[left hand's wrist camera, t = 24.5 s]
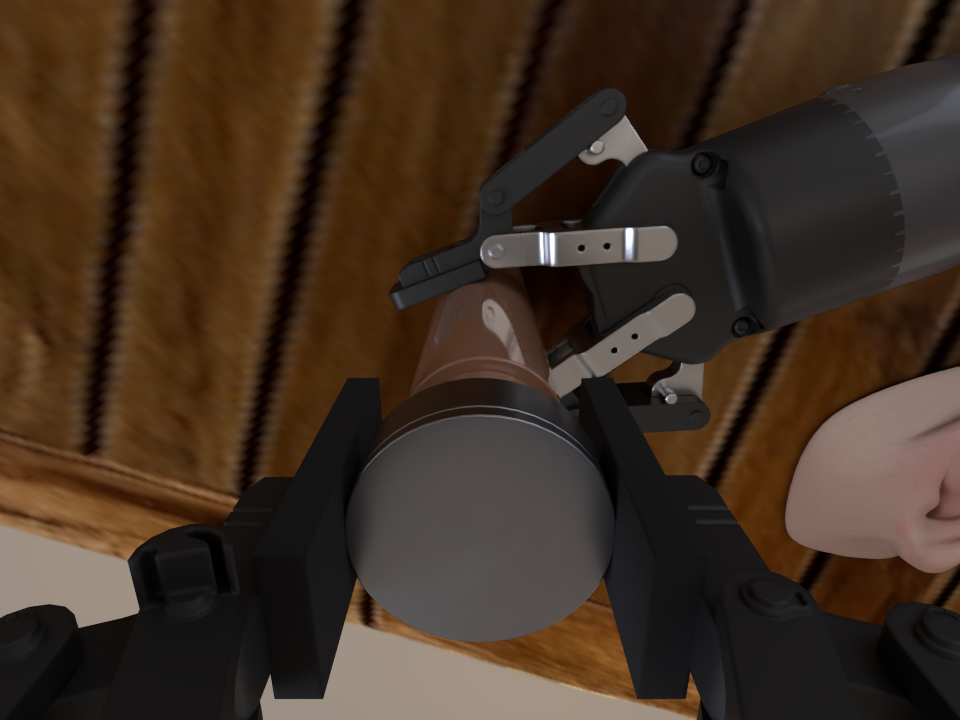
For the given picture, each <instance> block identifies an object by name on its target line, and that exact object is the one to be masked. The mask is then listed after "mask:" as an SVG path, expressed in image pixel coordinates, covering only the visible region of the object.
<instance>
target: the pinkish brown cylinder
mask: <svg viewBox="0 0 960 720" xmlns="http://www.w3.org/2000/svg"><path fill="white" fill-rule="evenodd" d="M465 378H496V379H502V380H508V381H513V382H516V383H520V384H523V385H526V386H529V387H531V388H534V389H536V390H538V391H540V392H542V393H544V394H546V395H548V396H549V397H551V398H552V399H554V400H556V401H557V402H558V403H560V404H561V405H562V403H561V400H560V397H559V393H558V390H557V387H556V383H555V380H554V377H553V374H552V370H551V367H550V364H549V360H548V357H547V354H546V350H545V347H544V344H543V341H542V337H541V334H540V331H539V327H538V324H537V321H536V318H535V314H534V311H533V308H532V304H531V301H530V298H529V294H528V291H527V288H526V285H525V281H524V278H523V275H522V273H521V271H520V269H519V267H510V268H492V269H489V270H486V278H485V279H482V280H479V281H477V282H474V283H471V284H468V285H465V286H462V287H460V288H458V289H455V290H453V291H450V292H447V293H445V294H442V295H439V296H438V297H437V300H436V304H435V307H434V310H433V314H432V317H431V321H430V324H429V327H428V331H427V334H426V338H425V341H424V344H423V348H422V351H421V355H420V358H419V361H418V365H417V368H416V372H415V375H414V378H413V382H412V385H411V389H410V392H409V395H408V398H410V397H412V396H413V395H415V394H416V393H419V392H421V391H423V390H425V389H427V388H429V387H432V386H435V385H438V384H441V383H444V382H448V381H453V380H459V379H465Z"/></svg>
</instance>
